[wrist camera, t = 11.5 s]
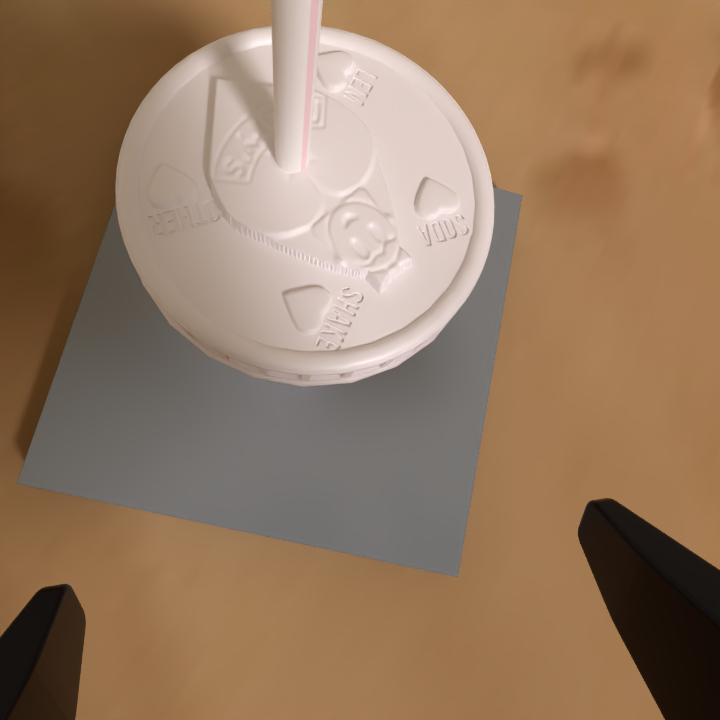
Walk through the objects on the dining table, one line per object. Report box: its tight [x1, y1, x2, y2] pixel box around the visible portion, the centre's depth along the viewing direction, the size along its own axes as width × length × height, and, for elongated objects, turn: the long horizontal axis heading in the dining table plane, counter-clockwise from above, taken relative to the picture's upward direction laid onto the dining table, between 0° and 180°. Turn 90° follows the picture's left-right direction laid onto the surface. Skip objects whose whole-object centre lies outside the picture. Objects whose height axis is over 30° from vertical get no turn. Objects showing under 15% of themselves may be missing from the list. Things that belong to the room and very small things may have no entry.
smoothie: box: [115, 0, 494, 387], centre depth 11 cm, size 6×6×14 cm
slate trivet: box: [17, 187, 522, 577], centre depth 19 cm, size 14×14×1 cm
